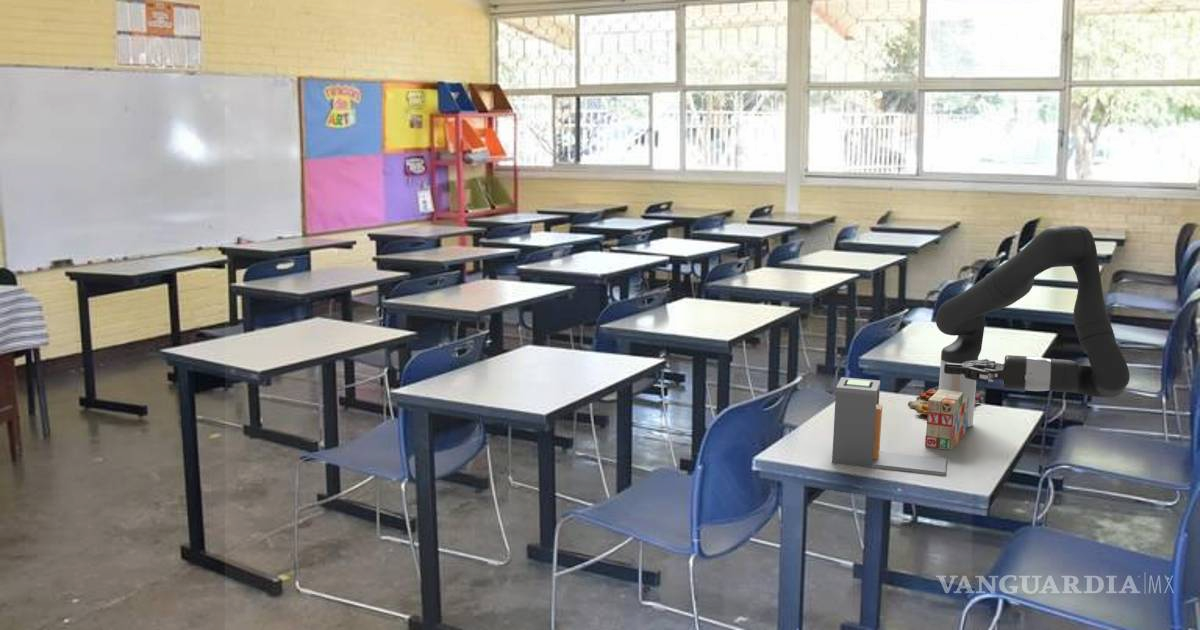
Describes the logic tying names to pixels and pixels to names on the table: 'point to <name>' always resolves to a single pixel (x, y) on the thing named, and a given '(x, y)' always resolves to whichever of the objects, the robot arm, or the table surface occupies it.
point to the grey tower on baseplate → (869, 433)
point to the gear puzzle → (923, 398)
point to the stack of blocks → (946, 419)
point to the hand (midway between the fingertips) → (944, 368)
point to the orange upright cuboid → (877, 431)
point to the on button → (858, 383)
